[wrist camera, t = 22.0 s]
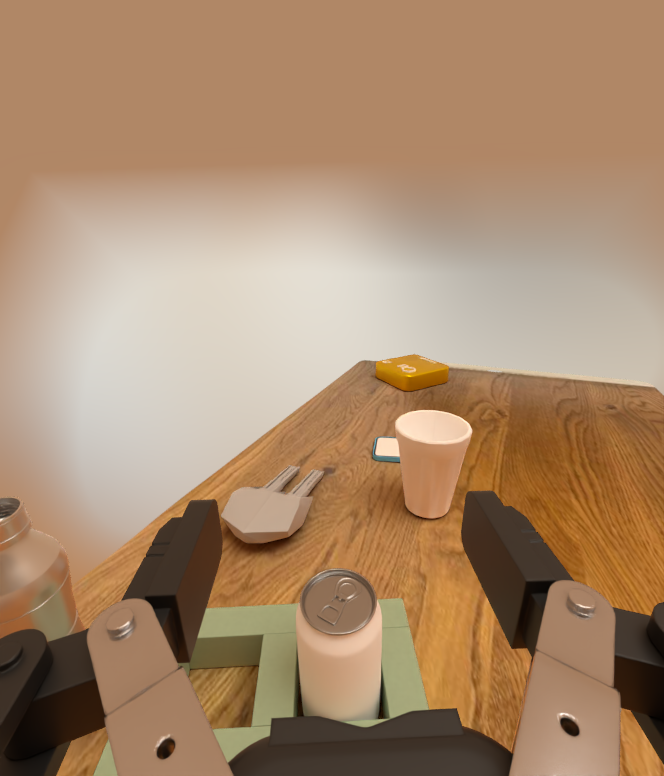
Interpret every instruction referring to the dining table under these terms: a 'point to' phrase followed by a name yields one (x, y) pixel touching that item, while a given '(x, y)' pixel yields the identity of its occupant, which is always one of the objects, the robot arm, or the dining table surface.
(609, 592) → the dining table surface
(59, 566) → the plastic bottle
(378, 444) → the smartphone
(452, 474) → the cup
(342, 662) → the can
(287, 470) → the turret
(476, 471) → the dining table surface
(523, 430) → the dining table surface
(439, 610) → the dining table surface
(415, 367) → the element tile
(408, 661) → the holder
